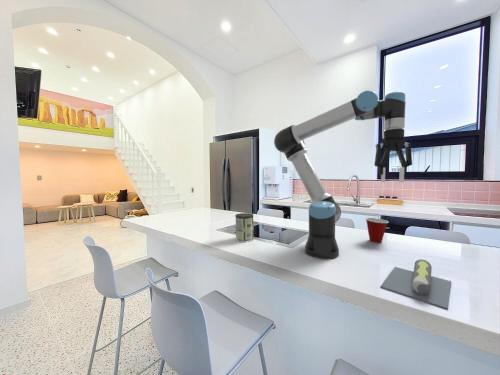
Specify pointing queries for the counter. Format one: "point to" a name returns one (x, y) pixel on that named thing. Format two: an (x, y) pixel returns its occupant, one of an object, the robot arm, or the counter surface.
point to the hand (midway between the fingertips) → (392, 181)
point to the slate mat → (403, 283)
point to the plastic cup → (376, 229)
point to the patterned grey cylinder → (422, 276)
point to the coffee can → (244, 227)
